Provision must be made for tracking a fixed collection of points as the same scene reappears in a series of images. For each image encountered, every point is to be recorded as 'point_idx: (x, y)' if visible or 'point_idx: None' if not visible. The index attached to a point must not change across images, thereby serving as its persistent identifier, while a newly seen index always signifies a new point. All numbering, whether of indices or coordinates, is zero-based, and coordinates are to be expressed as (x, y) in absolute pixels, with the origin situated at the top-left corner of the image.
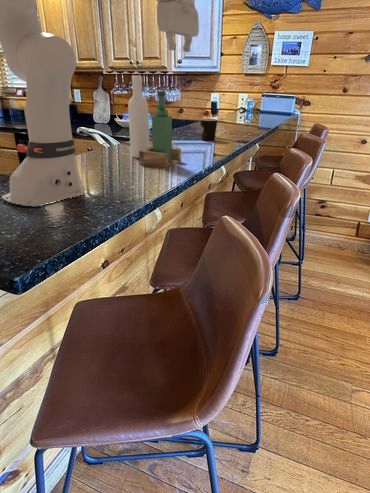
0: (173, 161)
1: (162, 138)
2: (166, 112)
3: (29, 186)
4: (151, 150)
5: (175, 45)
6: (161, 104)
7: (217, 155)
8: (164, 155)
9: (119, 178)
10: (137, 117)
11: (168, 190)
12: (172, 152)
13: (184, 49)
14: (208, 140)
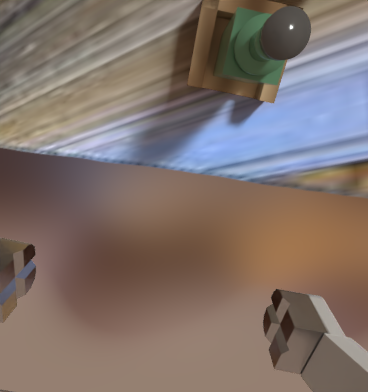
0: (234, 91)
1: (218, 66)
2: (249, 73)
3: None
4: None
5: (4, 308)
6: (253, 48)
7: (357, 170)
8: (187, 84)
9: (59, 14)
10: None
11: (35, 150)
12: None
13: (277, 309)
14: None
